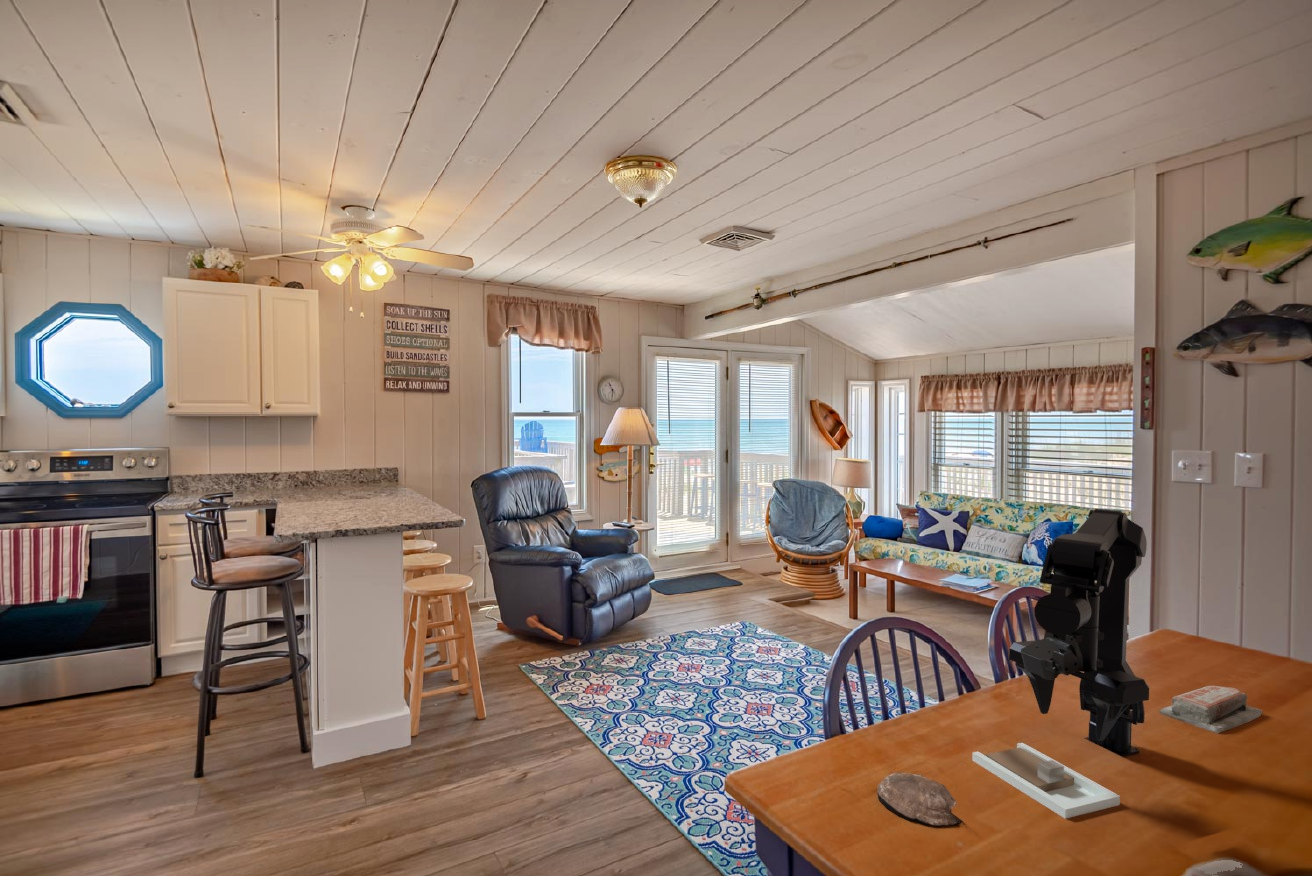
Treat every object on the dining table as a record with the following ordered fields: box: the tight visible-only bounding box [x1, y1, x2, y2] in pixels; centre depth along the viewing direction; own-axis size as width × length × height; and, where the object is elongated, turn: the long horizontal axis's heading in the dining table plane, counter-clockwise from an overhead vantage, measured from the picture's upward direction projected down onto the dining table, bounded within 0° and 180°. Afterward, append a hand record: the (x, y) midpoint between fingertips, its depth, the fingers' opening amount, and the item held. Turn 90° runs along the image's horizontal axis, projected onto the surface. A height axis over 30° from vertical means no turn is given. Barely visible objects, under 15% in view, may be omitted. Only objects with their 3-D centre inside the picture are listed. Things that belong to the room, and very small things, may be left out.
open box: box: [971, 742, 1121, 820], centre depth 104 cm, size 11×17×3 cm, turn 19°
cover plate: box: [984, 747, 1074, 792], centre depth 107 cm, size 8×10×3 cm
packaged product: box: [1159, 685, 1263, 734], centre depth 133 cm, size 18×5×10 cm
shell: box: [876, 771, 964, 828], centre depth 101 cm, size 12×13×4 cm
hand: (1071, 726), depth 99 cm, fingers open, 9 cm apart
